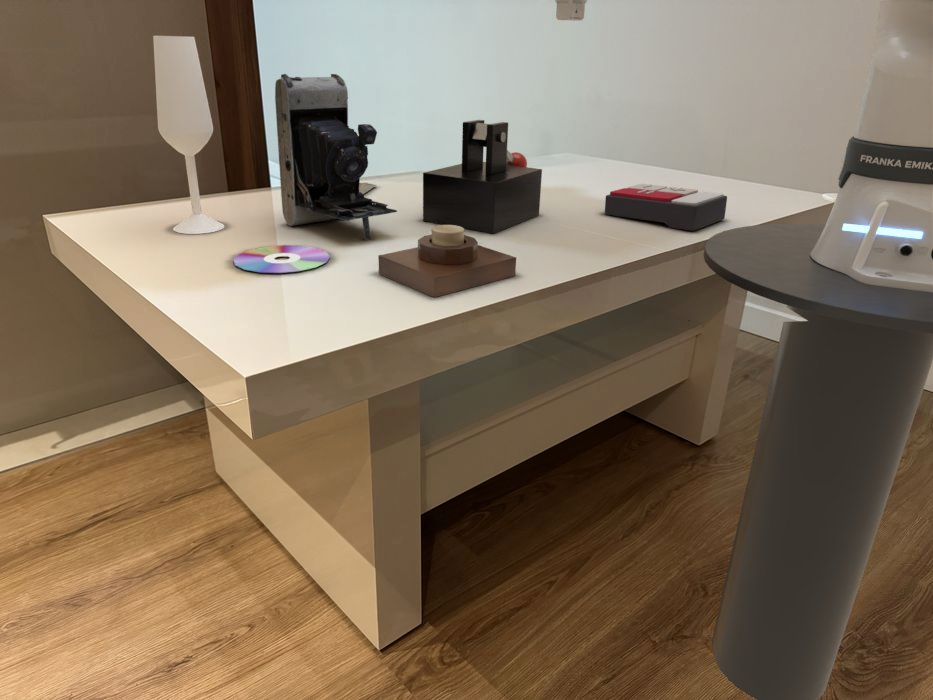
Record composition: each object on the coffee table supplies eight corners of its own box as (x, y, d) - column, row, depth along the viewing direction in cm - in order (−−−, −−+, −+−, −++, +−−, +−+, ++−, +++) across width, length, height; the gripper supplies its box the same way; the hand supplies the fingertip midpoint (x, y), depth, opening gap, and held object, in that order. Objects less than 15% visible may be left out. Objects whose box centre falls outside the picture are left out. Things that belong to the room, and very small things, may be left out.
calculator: (640, 181, 116) (729, 190, 107) (638, 207, 118) (725, 219, 108) (604, 190, 109) (696, 201, 99) (603, 218, 110) (693, 231, 101)
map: (379, 188, 127) (379, 182, 126) (338, 206, 108) (338, 200, 107) (352, 186, 127) (352, 181, 127) (307, 204, 109) (307, 198, 108)
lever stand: (473, 204, 114) (475, 115, 108) (539, 215, 108) (545, 121, 103) (422, 221, 103) (422, 122, 98) (493, 233, 97) (497, 130, 92)
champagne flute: (207, 235, 93) (182, 37, 83) (162, 231, 94) (132, 35, 84) (234, 223, 99) (213, 37, 89) (191, 220, 100) (166, 35, 90)
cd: (331, 245, 90) (331, 244, 90) (328, 272, 80) (328, 271, 80) (240, 246, 88) (240, 245, 88) (225, 274, 78) (225, 273, 78)
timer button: (449, 238, 81) (449, 223, 80) (470, 244, 79) (470, 229, 78) (425, 243, 79) (425, 227, 78) (445, 250, 76) (446, 234, 76)
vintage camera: (340, 251, 89) (338, 84, 81) (279, 223, 99) (271, 72, 91) (400, 240, 96) (404, 84, 87) (337, 214, 106) (335, 72, 97)
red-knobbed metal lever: (507, 177, 113) (513, 156, 113) (526, 180, 111) (533, 158, 111) (466, 142, 100) (473, 118, 100) (488, 144, 99) (495, 120, 99)
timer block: (458, 255, 87) (458, 224, 86) (515, 275, 81) (517, 241, 79) (378, 274, 80) (377, 239, 78) (434, 297, 73) (434, 260, 72)
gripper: (534, -143, 67) (528, 17, 73) (657, -113, 80) (643, 22, 85) (488, -132, 72) (486, 18, 77) (612, -105, 84) (601, 22, 90)
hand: (569, 20), depth 81 cm, fingers closed
